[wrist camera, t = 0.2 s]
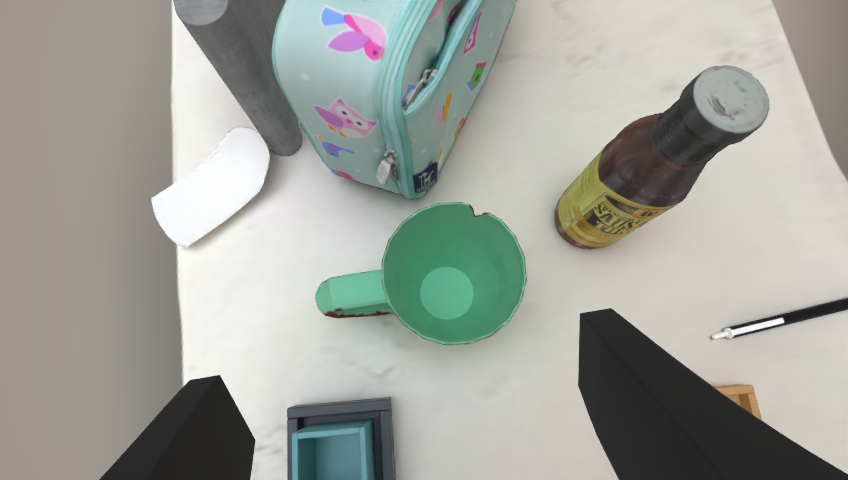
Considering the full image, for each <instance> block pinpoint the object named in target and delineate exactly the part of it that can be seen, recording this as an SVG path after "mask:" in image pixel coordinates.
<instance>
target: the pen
mask: <svg viewBox="0 0 848 480" xmlns="http://www.w3.org/2000/svg"><path fill="white" fill-rule="evenodd" d="M847 309H848V298H846V299H842V300H838V301H834V302H830V303H826V304H822V305H818V306H814V307H810V308H806V309H802V310H798V311H794V312H790V313H785V314H781V315H777V316H773V317H769V318H765V319H761V320H757V321H753V322H749V323H745V324H741V325H737V326H733V327H729V328H725V329H724V332H721V333H717V334H713V335H712V338H713V339H717V338H721V337H725V336H726V337H727V338H729V339H730V338H734V337H738V336H742V335H746V334H751V333H755V332H759V331H763V330H767V329H771V328H775V327H779V326H783V325H787V324H791V323H795V322H799V321H803V320H807V319H811V318H815V317H819V316H823V315H827V314H831V313H835V312H839V311H843V310H847Z"/></svg>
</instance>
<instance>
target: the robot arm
mask: <svg viewBox="0 0 848 480" xmlns="http://www.w3.org/2000/svg"><path fill="white" fill-rule="evenodd" d="M578 386H579V389H580V392H581V394H582V397H583V400H584V403H585V405H586V408H587V411H588V414H589V416H590V419H591V421H592V424H593V427H594V429H595V432H596V434H597V436H598V438H599V440H600V443H601V445H602V447H603V449H604V451H605V453H606V455H607V457H608V459H609V461H610V463H611V465H612V467H613V469H614V471H615V473H616V475H617V477H618V478H619V480H848V474H846V473H844V472H843V471H841V470H839V469H838V468H836V467H834V466H833V465H831V464H829V463H828V462H826V461H824V460H823V459H821V458H819V457H818V456H816V455H814V454H813V453H811V452H809V451H808V450H806V449H804V448H803V447H801V446H800V445H798V444H797V443H795V442H793V441H792V440H790V439H789V438H787V437H786V436H784V435H782V434H781V433H779V432H778V431H776V430H775V429H773V428H772V427H770V426H769V425H767V424H766V423H764V422H763V421H761V420H760V419H758V418H757V417H756V416H754V415H753V414H751V413H750V412H748V411H747V410H745V409H744V408H742V407H741V406H739V405H738V404H737V403H735V402H734V401H732V400H731V399H729V398H728V397H727V396H725V395H724V394H722V393H721V392H720V391H718V390H717V389H716V388H714V387H713V386H711V385H710V384H709V383H707V382H706V381H705V380H703V379H702V378H701V377H699V376H698V375H696V374H695V373H694V372H692V371H691V370H690V369H688V368H687V367H686V366H684V365H683V364H682V363H680V362H679V361H678V360H676V359H675V358H674V357H673V356H671V355H670V354H669V353H667V352H666V351H665V350H664V349H662V348H661V347H660V346H658V345H657V344H656V343H655V342H653V341H652V340H651V339H649V338H648V337H647V336H646V335H644V334H643V333H642V332H641V331H639V330H638V329H637V328H636V327H634V326H633V325H632V324H631V323H629V322H628V321H627V320H626V319H624V318H623V317H622V316H620V315H619V314H618V313H617V312H615V311H614V310H613V309H611V308H610V309H604V310H598V311H592V312H586V313H580V335H579V379H578ZM254 447H255V439H254V437H253V435H252V433H251V431H250V429H249V428H248V426H247V424H246V422H245V420H244V418H243V417H242V415H241V413H240V411H239V409H238V407H237V406H236V404H235V402H234V400H233V398H232V396H231V395H230V393H229V391H228V389H227V387H226V386H225V384H224V382H223V380H222V378H221V376H220V375H217V376H212V377H206V378H200V379H194V380H190V381H189V382H188V383H187V384H186V385H185V386H184V387H183V388H182V389H181V390H180V391H179V392H178V393H177V394H176V395H175V396H174V397H173V399H172V400H171V401H170V402H169V403H168V404H167V405H166V406H165V407H164V409H163V410H162V411H161V412H160V413H159V414H158V415H157V416H156V418H155V419H154V420H153V421H152V422H151V423H150V424H149V425H148V426H147V428H146V429H145V430H144V431H143V432H142V433H141V434H140V435H139V437H138V438H137V439H136V440H135V441H134V442H133V443H132V444H131V445H130V447H129V448H128V449H127V450H126V451H125V452H124V453H123V454H122V455H121V457H120V458H119V459H118V460H117V461H116V462H115V463H114V464H113V465H112V467H111V468H110V469H109V470H108V471H107V472H106V473H105V474H104V475H103V476H102V477H101V479H100V480H250V476H251V470H252V462H253V454H254Z"/></svg>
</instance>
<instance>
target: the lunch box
mask: <svg viewBox="0 0 848 480" xmlns="http://www.w3.org/2000/svg"><path fill="white" fill-rule="evenodd" d="M515 4H516V0H286V2H285V4H284V6H283V8H282V10H281V13H280V15H279V18H278V21H277V24H276V28H275V33H274V37H273V44H272V63H273V70H274V73H275V76H276V79H277V81H278V83H279V85H280V87H281V89H282V91H283V93H284V95H285V97H286V98H287V100H288V102H289V104H290V106H291V108H292V109H293V111H294V113H295V115H296V116H297V118H298V120H299V122H300V123H301V125H302V127H303V128H304V130H305V132H306V133H307V135H308V137H309V139H310V141H311V142H312V144H313V146H314V147H315V149H316V151H317V152H318V154H319V156H320V157H321V159H322V160H323V162H324V163H325V164H326V166H327V167H328V168H329V169H330V170H331V171H332V172H333V173H334V174H336V175H338V176H341V177H344V178H348V179H352V180H355V181H357V182H360V183H364V184H368V185H372V186H375V187H378V188H381V189H386V190H389V191H391V192H394V193H402V194H403V195H404V196H405V197H406V198H411V199H413V198H415V199H417V198H421V197H422V196H423V195H425V193H426V192H427V191H428V190H429V188H431V187H432V186H433V185H434V184H435V183H436V182H437V175H438V173H439V171H440V169H441V168H442V166H443V164H444V162H445V160H446V158H447V156H448V154H449V152H450V150H451V148H452V146H453V144H454V142H455V139H456V136H457V134H458V133H459V131H460V129H461V128H462V126H463V124H464V122H465V120H466V118H467V115H468V113H469V111H470V109H471V107H472V105H473V102H474V101H475V99H476V97H477V95H478V94H479V92H480V90H481V88H482V86H483V84H484V82H485V80H486V78H487V76H488V74H489V72H490V69H491V67H492V65H493V63H494V60H495V58H496V56H497V53H498V51H499V48H500V46H501V43H502V39H503V36H504V33H505V31H506V29H507V26H508V24H509V22H510V19H511V16H512V14H513V11H514V7H515Z"/></svg>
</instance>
